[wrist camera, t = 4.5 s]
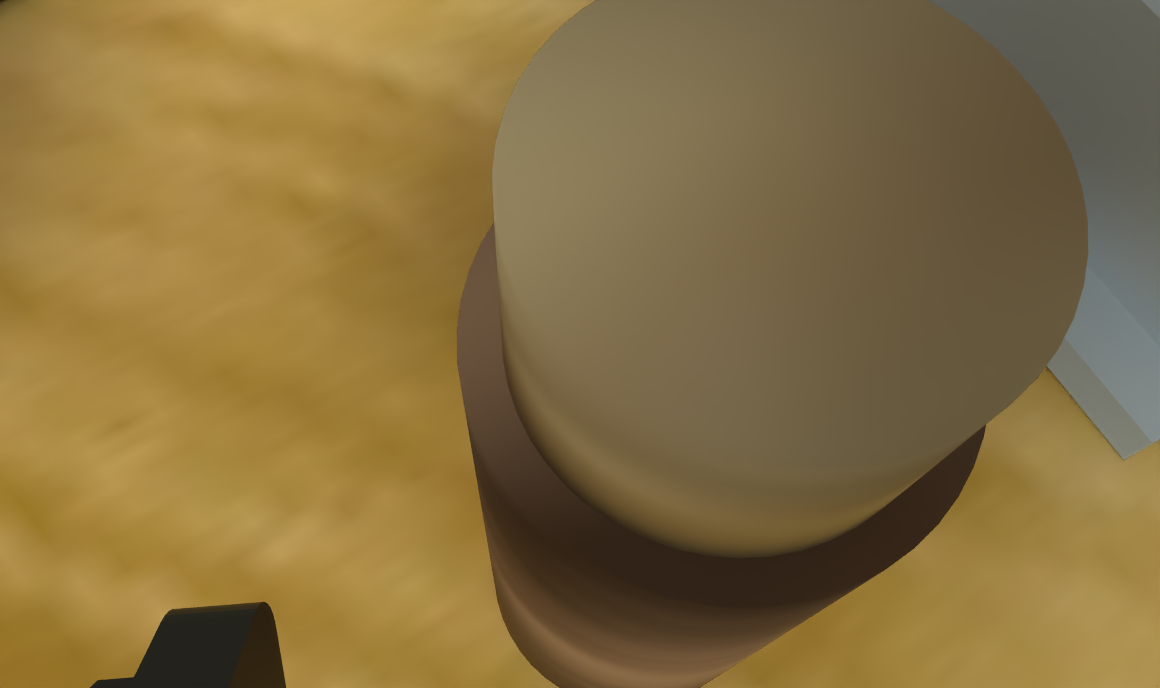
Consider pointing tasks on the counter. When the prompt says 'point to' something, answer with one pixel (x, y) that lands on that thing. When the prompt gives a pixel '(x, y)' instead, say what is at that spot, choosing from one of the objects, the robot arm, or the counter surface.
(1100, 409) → the rail
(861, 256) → the pepper mill
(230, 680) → the robot arm
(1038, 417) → the counter surface
